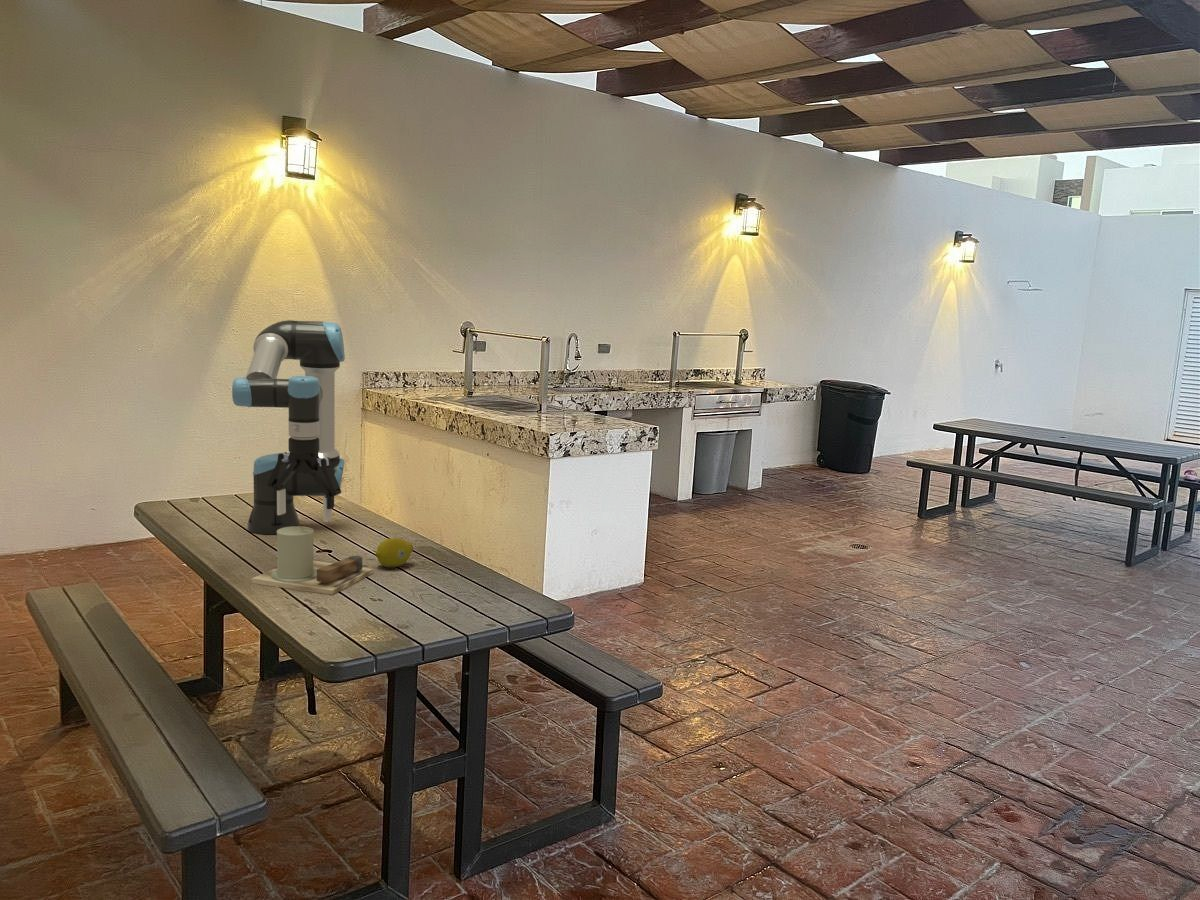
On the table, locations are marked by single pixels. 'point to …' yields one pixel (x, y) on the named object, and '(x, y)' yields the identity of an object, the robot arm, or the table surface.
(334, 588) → the board
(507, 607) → the table surface
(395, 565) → the lemon
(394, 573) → the table surface
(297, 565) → the can
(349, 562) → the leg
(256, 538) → the table surface
